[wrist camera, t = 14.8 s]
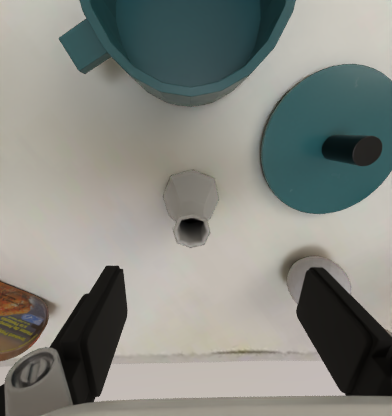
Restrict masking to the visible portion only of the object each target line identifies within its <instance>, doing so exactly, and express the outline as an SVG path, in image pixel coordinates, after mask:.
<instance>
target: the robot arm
mask: <svg viewBox="0 0 392 416" xmlns="http://www.w3.org/2000/svg"><path fill="white" fill-rule="evenodd" d="M296 313H297V317H298V319H299V321H300V322H301V324H302V326H303V328H304V329H305V331H306V333H307V334H308V336H309V338H310V340H311V341H312V343H313V345H314V347H315V348H316V350H317V352H318V353H319V355H320V357H321V359H322V360H323V362H324V364H325V365H326V367H327V369H328V371H329V372H330V374H331V376H332V378H333V379H334V381H335V383H336V384H337V386H338V388H339V389H340V390H341V391H342V392H343V393H345V395H346V396H282V397H281V396H279V397H218V398H173V399H140V400H117V401H101V402H94V399H95V397H99V396H100V394H101V392H102V389H103V386H104V383H105V380H106V377H107V374H108V371H109V368H110V365H111V362H112V360H113V357H114V354H115V351H116V348H117V345H118V342H119V339H120V336H121V333H122V330H123V327H124V324H125V321H126V318H127V302H126V292H125V283H124V274H123V269H120V268H119V266H106V267H105V269H104V270H103V272H102V273H101V275H100V277H99V278H98V280H97V281H96V283H95V285H94V286H93V288H92V290H91V291H90V293H89V294H85V295H83V297H82V298H81V300H80V301H79V303H78V304H77V306H76V307H75V309H74V310H73V312H72V313H71V315H70V316H69V318H68V320H67V321H66V323H65V324H64V326H63V327H62V329H61V330H60V332H59V333H58V335H57V337H56V338H55V340H54V341H53V343H52V344H51V346H50V347H49V348H47V347H45V348H40V349H37V350H35V351H32V352H30V353H28V354H27V355H25V356H24V357H22V358H21V359H20V360H19V361H18V362H16V363H15V364H14V366H13V367H12V368H11V370H10V371H9V372H8V374H7V376H6V378H5V384H3V385H2V386H0V416H392V336H391V335H390V334H389V333H388V332H387V331H386V330H385V329H384V328H383V327H382V326H381V325H380V324H379V323H378V322H377V321H376V320H375V319H374V318H373V317H372V316H371V315H370V314H369V313H368V312H367V311H366V310H365V309H364V308H363V307H362V306H361V305H360V304H359V303H358V302H357V301H356V300H355V299H354V298H353V297H352V296H351V295H350V294H349V293H348V292H347V291H346V290H345V289H344V288H343V287H342V286H341V285H340V284H339V283H338V282H337V281H336V280H335V279H334V277H333V276H332V275H331V274H330V273H329V272H328V271H327V270H326V269H324V268H323V267H311V268H309V270H307V271H306V274H305V278H304V282H303V286H302V290H301V294H300V298H299V302H298V306H297V310H296Z"/></svg>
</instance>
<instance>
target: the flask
mask: <svg viewBox="0 0 392 416" xmlns="http://www.w3.org/2000/svg"><path fill="white" fill-rule="evenodd" d="M163 198H164V201H165V204H166V207H167V210H168V214H169V216H170V217H171V218H172V219H173V220H175V222H176V223H175V226H174V228H173V232H174V235H175V239H176V242H177V243H178V244H181V245H183V246H186V247H189V248H192V247H197V246H201V245H205V242H206V240H207V238H208V236H209V234H210V229H209V225H208V220H209V219H210V218H211V216H212V214H213V212H214V210H215V208H216V205H217V203H218V201H219V197H218V192H217V188H216V183H215V179H214V178H212V177H209V176H207V175H204V174H202V173H200V172H197V171H195V170H191V171H187V172H183V173H179V174H175V175H171V177H170V179H169V182H168V184H167V187H166V190H165V192H164V195H163Z"/></svg>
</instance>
